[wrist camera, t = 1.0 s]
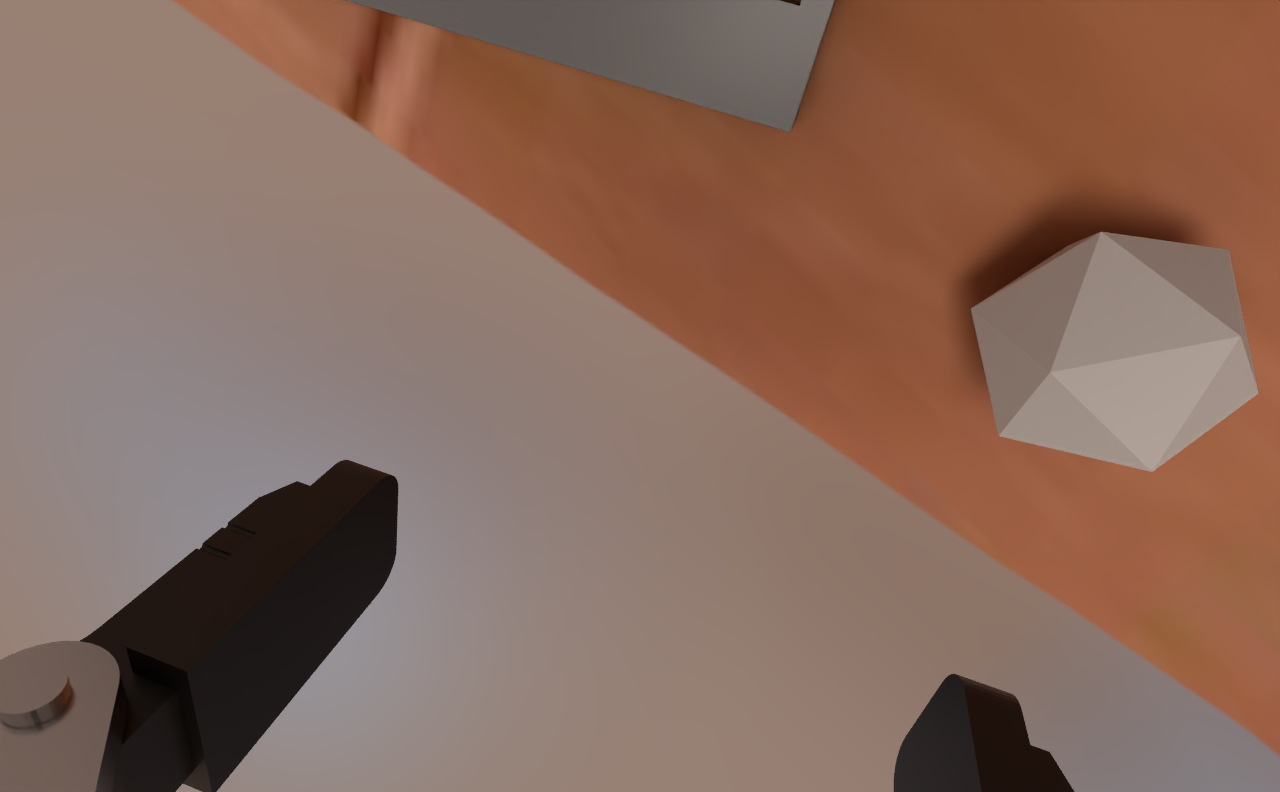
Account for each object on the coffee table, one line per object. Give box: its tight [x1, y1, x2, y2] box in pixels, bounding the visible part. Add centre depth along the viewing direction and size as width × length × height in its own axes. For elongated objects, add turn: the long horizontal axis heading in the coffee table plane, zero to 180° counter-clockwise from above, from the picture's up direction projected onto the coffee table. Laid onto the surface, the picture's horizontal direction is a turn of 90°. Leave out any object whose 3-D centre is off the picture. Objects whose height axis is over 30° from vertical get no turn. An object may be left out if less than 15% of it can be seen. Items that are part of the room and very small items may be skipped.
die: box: [971, 232, 1258, 472], centre depth 27 cm, size 8×9×10 cm
